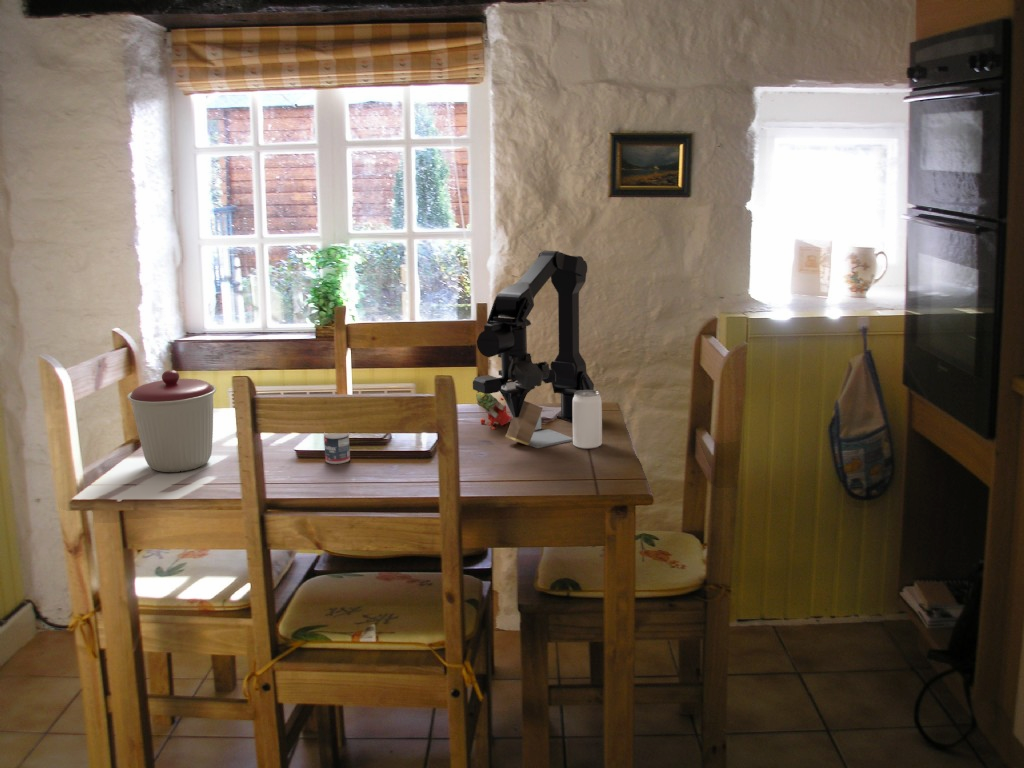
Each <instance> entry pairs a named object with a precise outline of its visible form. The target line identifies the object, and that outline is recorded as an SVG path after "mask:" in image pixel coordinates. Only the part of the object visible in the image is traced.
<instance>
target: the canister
mask: <svg viewBox="0 0 1024 768" xmlns="http://www.w3.org/2000/svg"><path fill="white" fill-rule="evenodd" d="M216 391H217V386H215V385H213V384H211V383H209V382H207V381H205V380H201V379H197V378H180V373H179V372H178V371H177V370H174V369H169V370H165V371H164V372H162V374H161V380H157V381H153V382H148V383H145V384H142V385H140V386H137V387H136V388H134V390H133V391H131V392H128V394H127V396H126V398H127V400H128V401H129V402H131V406H132V412H133V416H134V419H135V420H134V421H135V425H136V429H137V433H138V437H139V440H140V446H141V449H142V453H143V456H144V459H145V461H146V464H147V465H148V466H149V467H150V469H152V470H155V471H157V472H161V473H177V472H178V473H179V472H180V471H181V472H185V471H186V472H187V471H190V470H194V469H197V468H200V467H202V466H204V465H206V464H207V463H208V462H209V461H210V458H211V456H212V451H213V437H214V433H213V432H214V394H215V393H216Z"/></svg>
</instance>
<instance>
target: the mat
mask: <svg viewBox="0 0 1024 768" xmlns="http://www.w3.org/2000/svg"><path fill="white" fill-rule="evenodd" d="M569 442H573V437H571V436H569V435H566V434H563V433H560V432H558V431H554V430H552V429H550V428H547V429H542V430H541V429H540V430H535V431H534V433H533V435H532V438H531V441H530V443H529V447H534V448H535V449H540V448H545V447H550V446H555V445H559V444H563V443H569Z"/></svg>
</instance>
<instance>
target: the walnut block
mask: <svg viewBox="0 0 1024 768" xmlns="http://www.w3.org/2000/svg"><path fill="white" fill-rule="evenodd" d="M542 411H543V407H541V406H539V405H536V404H534V403H531V402H528V401H526V400H524V402H523V405H522V408H521V411H520V414H519V417H517V418H515V417H513V418H512V419H511V420H510V422H509V423H510V424H509V426H508V428H507V431H506V434H505V436H504V437H505V438H508V439H510V440H512V441H514V442H518V443H520V444H523V445H526V446H529V447H530V445H529V443H530V441H531V438H532V435H533V433H534V432H535V431H536V430H535V427H536V425H537V422H538V419H539V417H540V414H541V415H542ZM534 430H535V431H534Z"/></svg>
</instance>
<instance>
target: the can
mask: <svg viewBox="0 0 1024 768" xmlns="http://www.w3.org/2000/svg"><path fill="white" fill-rule="evenodd" d="M574 394H575V395H574V397H573V401H572V414H573V421H572V438H573V441H572V444H573V446H574V447H575V448H578V449H582V450H591V449H597V448H600V447H601V446H602V444H603V407H602V406H603V405H602V404H603V403H602V402H603V401H602V398H601V395H600V394H601V393H600V391H598V390H594V389H593V390H580V391H576V392H575V393H574ZM599 446H600V447H599Z"/></svg>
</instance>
